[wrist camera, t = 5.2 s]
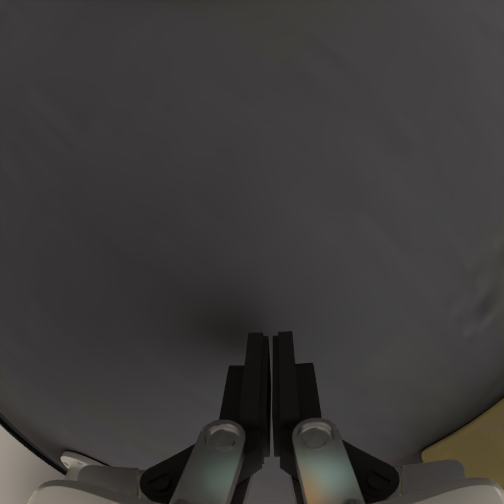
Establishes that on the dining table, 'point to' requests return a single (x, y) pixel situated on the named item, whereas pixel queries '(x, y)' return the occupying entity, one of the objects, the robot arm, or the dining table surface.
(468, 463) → the cheese
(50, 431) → the dining table surface
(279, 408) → the robot arm
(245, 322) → the dining table surface
